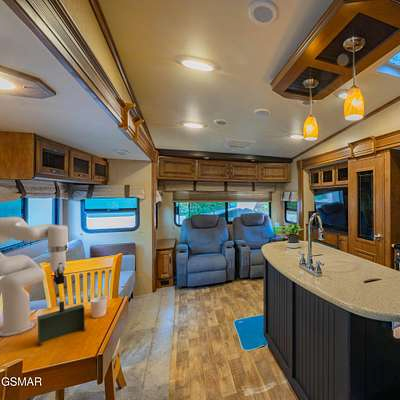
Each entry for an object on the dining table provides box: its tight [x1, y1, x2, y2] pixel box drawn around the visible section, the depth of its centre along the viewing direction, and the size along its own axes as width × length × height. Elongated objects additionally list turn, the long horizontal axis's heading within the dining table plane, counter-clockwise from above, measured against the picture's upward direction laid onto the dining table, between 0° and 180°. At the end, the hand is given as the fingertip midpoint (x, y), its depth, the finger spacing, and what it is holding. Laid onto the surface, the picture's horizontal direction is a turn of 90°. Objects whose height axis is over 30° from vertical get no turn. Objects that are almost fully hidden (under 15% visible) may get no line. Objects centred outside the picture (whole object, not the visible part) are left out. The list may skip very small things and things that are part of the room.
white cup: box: [90, 295, 108, 319], centre depth 149 cm, size 8×8×10 cm
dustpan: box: [37, 300, 86, 347], centre depth 127 cm, size 5×17×18 cm, turn 142°
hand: (59, 282), depth 130 cm, fingers open, 4 cm apart
